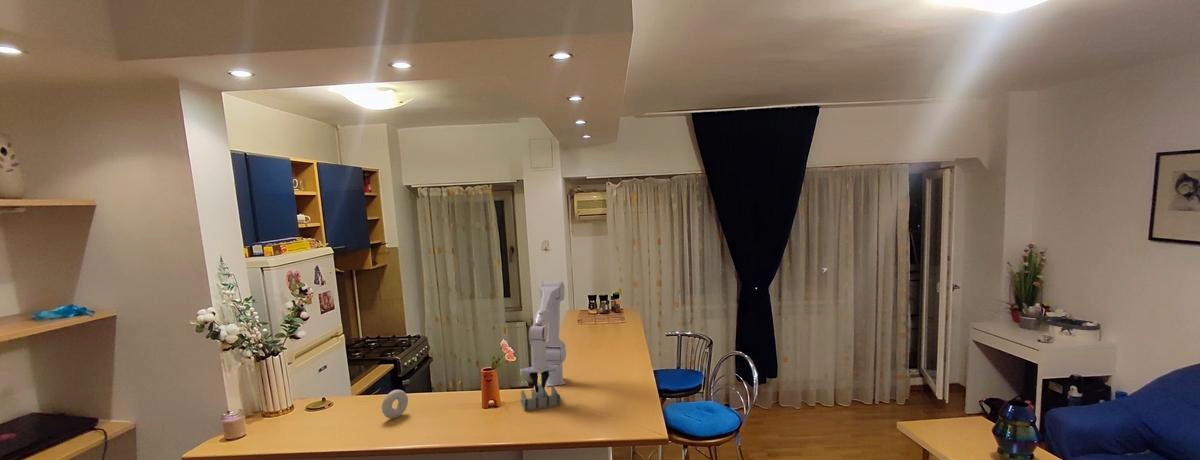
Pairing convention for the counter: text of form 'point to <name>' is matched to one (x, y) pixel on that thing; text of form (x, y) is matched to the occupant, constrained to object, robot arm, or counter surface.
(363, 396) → the counter surface
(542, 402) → the rack
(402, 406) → the donut
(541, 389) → the plate
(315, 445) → the counter surface
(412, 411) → the counter surface
